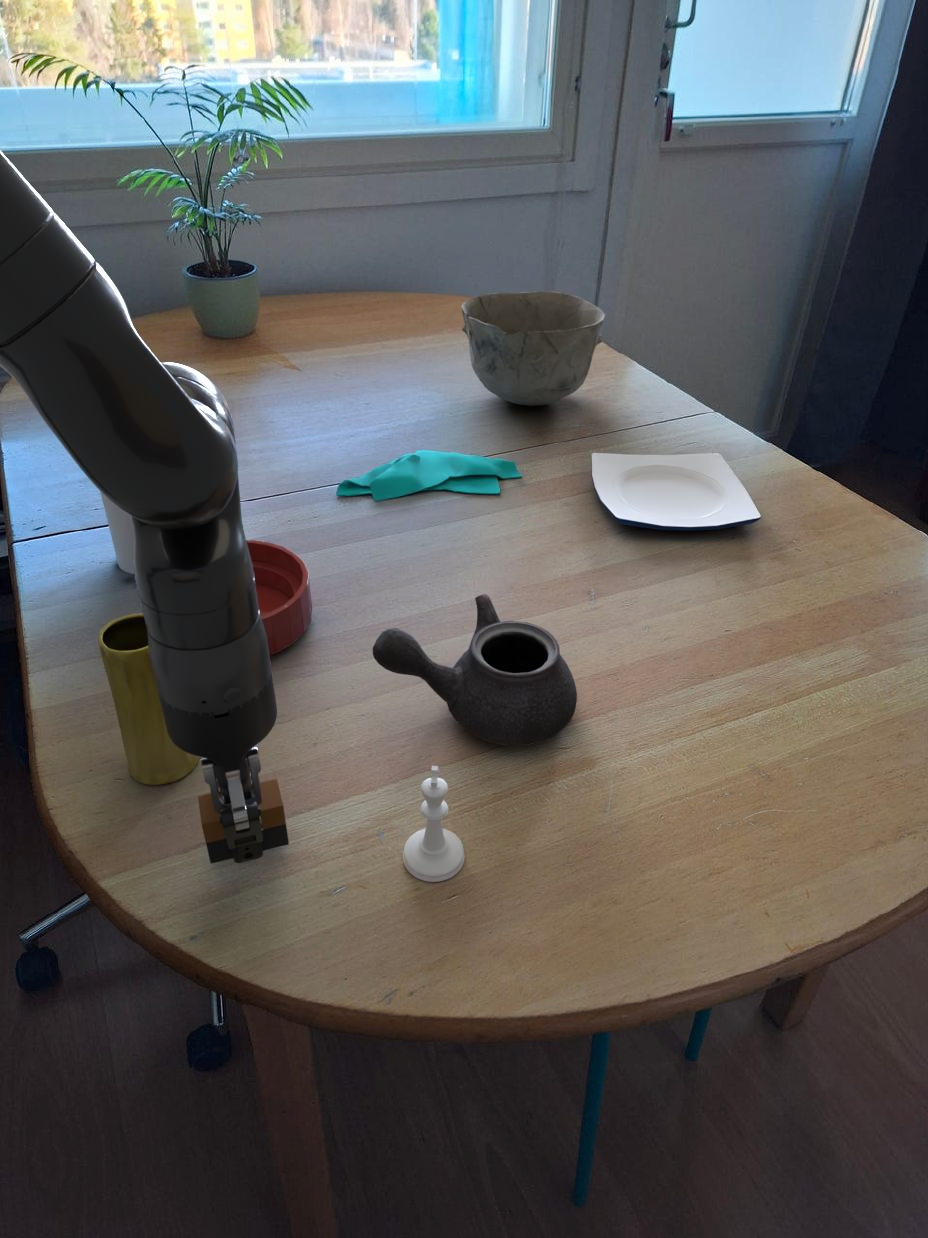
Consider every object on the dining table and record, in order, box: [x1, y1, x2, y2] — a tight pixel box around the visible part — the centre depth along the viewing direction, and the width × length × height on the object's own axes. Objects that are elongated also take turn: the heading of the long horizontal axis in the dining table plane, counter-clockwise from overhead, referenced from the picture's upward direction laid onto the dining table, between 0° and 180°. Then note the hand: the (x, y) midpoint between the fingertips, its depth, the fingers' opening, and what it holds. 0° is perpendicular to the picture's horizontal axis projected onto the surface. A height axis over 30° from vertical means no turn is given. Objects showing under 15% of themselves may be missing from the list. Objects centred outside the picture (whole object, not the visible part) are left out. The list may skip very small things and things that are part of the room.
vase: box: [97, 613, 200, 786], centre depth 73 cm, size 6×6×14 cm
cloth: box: [335, 449, 523, 502], centre depth 122 cm, size 26×14×2 cm, turn 97°
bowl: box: [460, 290, 606, 407], centre depth 141 cm, size 22×22×15 cm
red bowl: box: [246, 539, 313, 656], centre depth 92 cm, size 16×16×6 cm
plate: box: [590, 452, 762, 531], centre depth 118 cm, size 20×20×3 cm
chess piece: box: [402, 765, 466, 883], centre depth 67 cm, size 5×5×10 cm
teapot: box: [372, 593, 578, 747], centre depth 81 cm, size 19×15×10 cm
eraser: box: [197, 778, 290, 864], centre depth 67 cm, size 6×3×4 cm, turn 109°
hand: (245, 839), depth 69 cm, fingers closed on eraser, 3 cm apart
